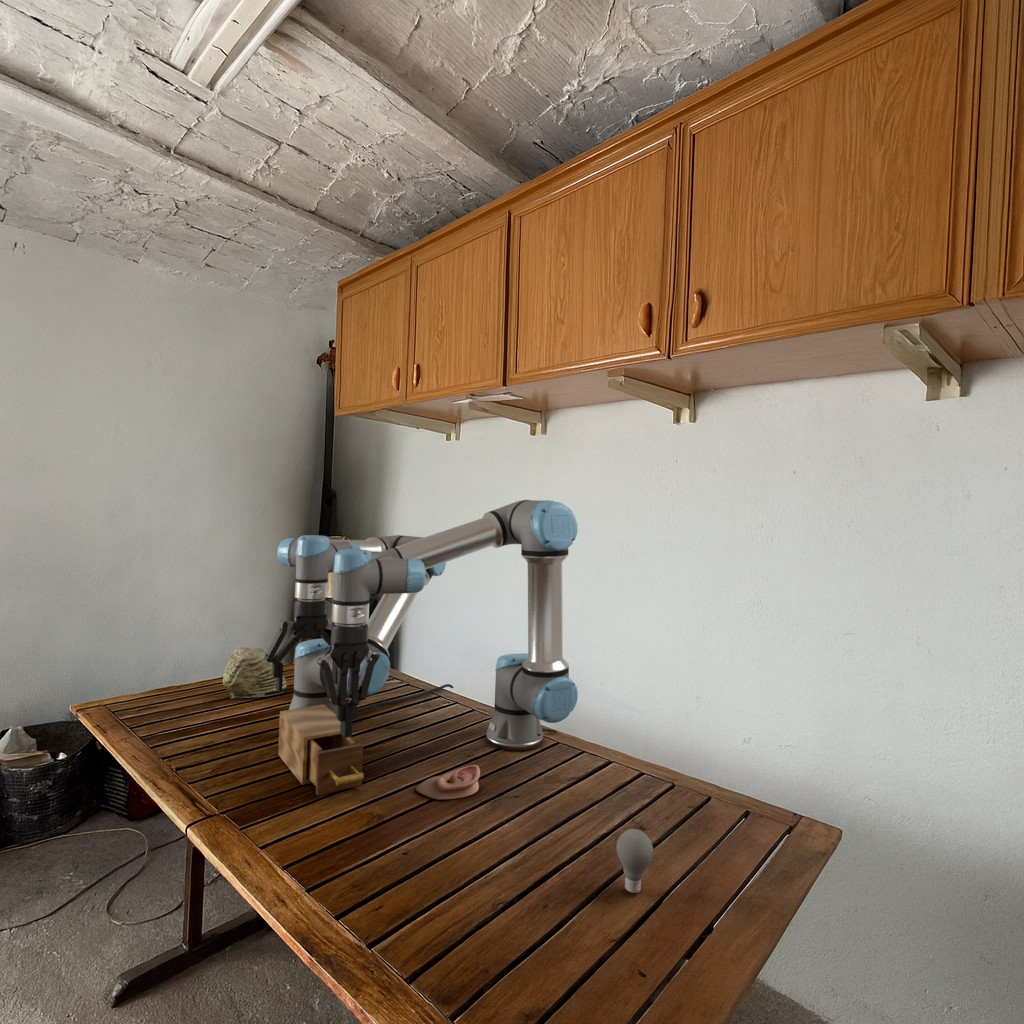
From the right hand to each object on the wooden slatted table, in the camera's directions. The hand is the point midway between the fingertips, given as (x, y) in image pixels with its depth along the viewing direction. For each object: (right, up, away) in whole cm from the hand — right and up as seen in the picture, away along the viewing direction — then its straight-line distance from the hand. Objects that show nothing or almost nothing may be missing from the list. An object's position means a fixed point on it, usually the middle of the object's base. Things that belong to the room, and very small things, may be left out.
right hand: (345, 735), depth 133 cm
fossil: (-46, -10, +65) cm, 80 cm away
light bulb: (+55, -17, -27) cm, 64 cm away
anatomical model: (+21, -14, +7) cm, 26 cm away
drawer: (-5, -12, +7) cm, 15 cm away
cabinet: (-12, -13, +16) cm, 24 cm away
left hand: (-15, +4, +21) cm, 26 cm away
